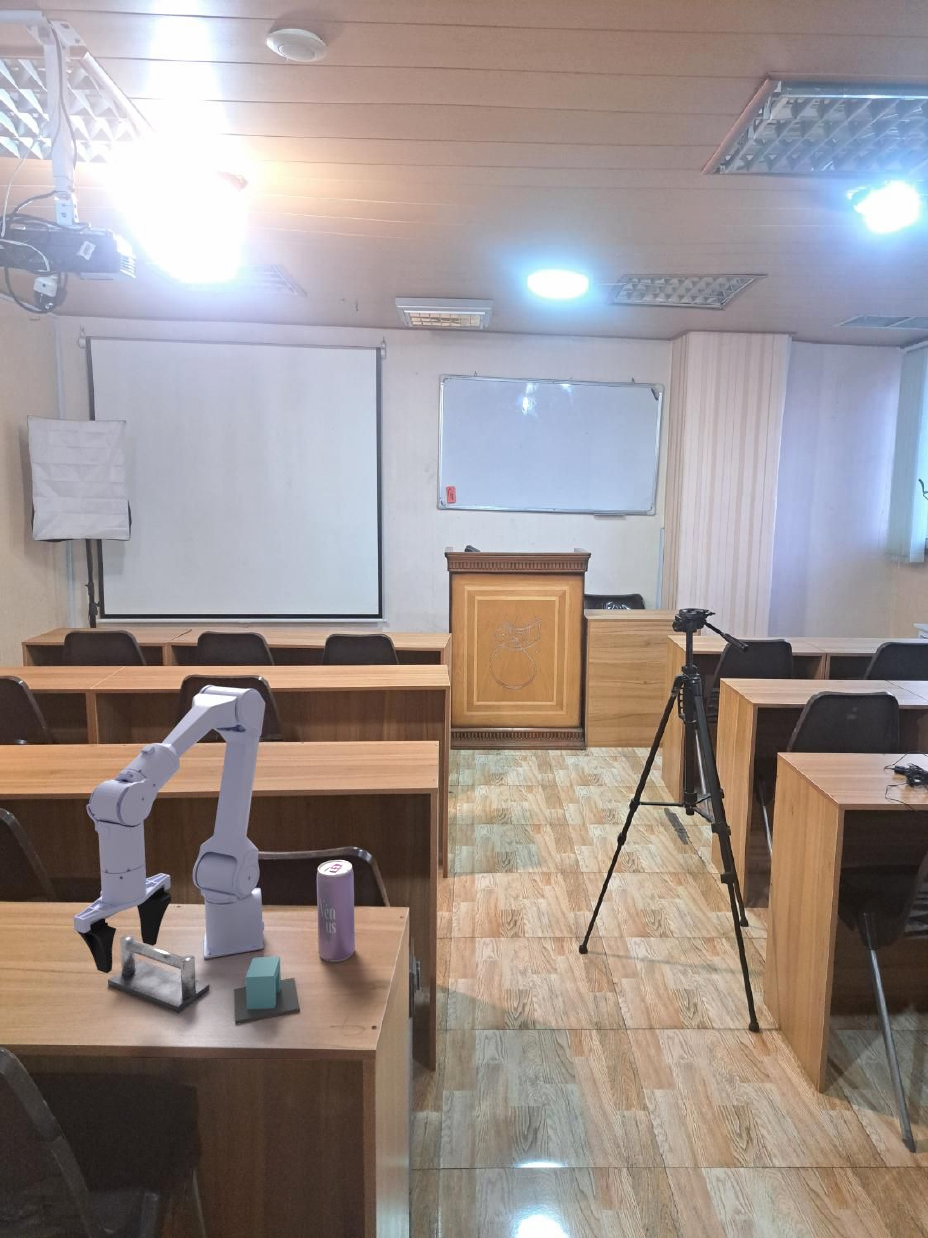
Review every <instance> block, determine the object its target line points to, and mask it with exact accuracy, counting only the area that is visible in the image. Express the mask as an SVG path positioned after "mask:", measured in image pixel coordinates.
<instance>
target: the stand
mask: <svg viewBox="0 0 928 1238" xmlns="http://www.w3.org/2000/svg"><path fill="white" fill-rule="evenodd" d="M119 943H120V944H119V947H120V960H121V961H120V962H121V963H120V964H121V971H120V972H118V973H116V974H115V975H113V976H112V977H110V978H109V979H107V986H108V987H110V988H113V989H115V990H118V991H120V992H123V993H126V994H128V995H130V996H134V997H136V998H138V999H140V1000H141V999H142V1000H143V1001H146V1002H149V1003H150V1004H151V1003H152V1004H154V1005H156V1006H159V1007H162V1008H164V1009H167V1010H168V1011H169V1010H170V1011H172V1012H174V1013H177V1014H179V1013H181V1012H182V1011H183V1010H185V1009H187V1007H189V1006H190V1005H192V1004H193V1003H194V1002H196V1001H197V1000H199V999H200V998H202V997H203V996H204V995H206V993H208V992H210V984H209V983H207V982H202V981H200V980H198V979H197V978H196V962H195V959H196V957H195V955H192V954H188V955H185V956H181V955H178V954H175V953H173V952H169V951H167V950H163V949H160V948H157V947H154V946H151V945H148V944H145V943H143V942H141V941H137V940H135V936H134V935H133V934H126V935H124V936H122V937H120V938H119ZM136 954H137V955H140V956H142V957H145V958H147V959H150V960H154V961H157V962H159V963H162V964H164V965H168V966H171V967H173V968H176V969H179V970H180V973H178V972H176V971H172V970H169V969H167V968H164V967H161V966H157V965H155V964H153V963H150V962H147V961H144V960H141V959H140V960H138V961H137V962H136Z"/></svg>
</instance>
